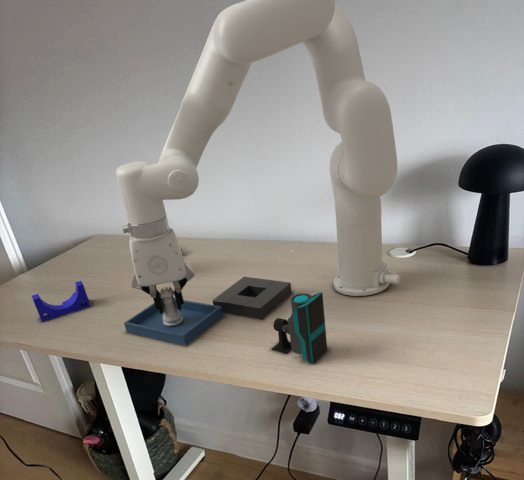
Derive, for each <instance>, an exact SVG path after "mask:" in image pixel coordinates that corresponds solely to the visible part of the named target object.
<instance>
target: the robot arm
mask: <svg viewBox="0 0 524 480" xmlns="http://www.w3.org/2000/svg"><path fill="white" fill-rule="evenodd" d="M300 44H303V45H304V47H305V48H306V49H307V51H308V53H309V56H310V58H311V62H312V64H313V68H314V72H315V76H316V82H317V87H318V92H319V97H320V101H321V108H322V114H323V119H324V121H325V123H326V125H327V127H328V128H329V129H331V130H332V131H333V132H336V133H337V134H339V136H340V139H341V141H340V142H338V144H337V145H336V146H335V147H334V148H333V150H332V153H331V155H330V158H329V176H330V182H331V187H332V192H333V198H334V199H333V201H334V210H335V211H334V212H335V223H336V224H335V225H336V226H335V227H336V241H337V255H338V256H337V257H338V270H339V274H338V275H337V276H336V277H335V278H334V279H333V289H334V290H335V291H336V292H338V293H339V294H342V295H345V296H351V297H365V296H371V295H375V294H379V293H381V292H383V291H384V290H386V289H388V287H389V286H390V284H396V285H399V284H400V282H401V275H400V274H399V273H400V272H399V270H389V269H388V268H387V267H388V265H387V263H386V262H383V237H382V236H383V232H382V228H383V227H382V200H381V196H384V195H386V193H388V192H389V191H390V190H391V188H392V187H393V185H394V183H395V181H396V179H397V176H398V175H397V174H398V155H397V147H396V141H395V132H394V131H395V130H394V125H393V118H392V112H391V107H390V103H389V101H388V99H387V96H386V95H385V93H384V92H383V90H382V88H380V87H379V86H378V85H377V84H375V83H373V82H370V81H367V80H366V77H365V72H364V66H363V62H362V57H361V51H360V48H359V47H360V46H359V43H358V38H357V35H356V32H355V29H354V27H353V25H352V23H351V20H350V19H349V17H348V16H347V15H346V13H345V12H344V11H343V9H342V8H341V7H340V6H339V5H338V4H337V3H336V1H335V0H242V1H240V2H237V3H234V4H232V5H229V6H228V7H226V8H224V9H222V11H221V12H219V14H218V15H217V17H216V18H215V20H214V22H213V25H212V26H211V29H210V31H209V34H208V36H207V39H206V41H205V44H204V47H203V49H202V51H201V54H200V57H199V58H198V62H197V64H196V66H195V68H194V71H193V74H192V77H191V79H190V81H189V83H188V86H187V88H186V91H185V93H184V96H183V97H182V100H181V104H180V108H179V110H178V112H177V114H176V117H175V119H174V122H173V124H172V127H171V128H170V130H169V134H168V136H167V139H166V141H165V144H164V145H163V149H162V151H161V153H160V156H159V159H158V162H157V163H152V162H150V161H148V160H147V161H146V160H138V161H131V162H128V163H124V164H122V165H120V166H118V167H117V168H116V171H115V179H116V183H117V187H118V190H119V193H120V198H121V200H122V205H123V207H124V211H125V214H126V219H127V221H128V223H127V224H126V225H123V226H122V232H123V234H130V238H129V241H128V242H129V250H130V257H131V262H132V267H133V271H134V275H133V277H132V278H133V279H132V282H131V287H132V288H133V289H136V290H140V291H142V292H144V293H145V294H147V295H149V296H150V298H152V299H153V303H155V307H156V309H159V311H160V314H162V313H164V306H163V302H162V297H161V296H160V291H159V290H158V289H157V285H164V284H169V283H172V285H173V287H174V290H173V291H174V295H173V296H174V298H175V299H176V303H177V307H178V310H182V304H184V300H185V299H184V296H183V292H182V290H183V289H184V287H186V285H187V283H188V282H190V280H192V279H193V278H194V277H195V276H196V273H195V271H194V270H193V269H192V267H190V265H188V264H187V262H186V261H185V259H184V254H183V251H182V252H181V250H182V248H181V245H180V243H179V240H178V238H177V235H176V233H175V230H174V229H173V228H171V227H170V225H169V220H168V216H167V211H166V207H165V203H164V201H168V200H169V201H171V200H172V201H173V200H183V199H186V198H188V197H191V196H192V195H193V194H195V192H196V191H197V189H198V186H199V182H200V181H199V179H200V178H199V173H198V170H197V168H198V165H199V163H200V160H201V159H202V156H203V154H204V151H205V149H206V147H207V145H208V143H209V141H210V139H211V137H212V136H213V134H215V133H214V132H215V131H216V130H217V129H218V128H219V127H220V126H221V125H222V124H223V123H224V122H225V121H226V120H227V118H228V117H229V115H230V113H231V111H232V109H233V106H234V104H235V103H236V100H237V98H238V95H239V92H240V90H241V88H242V85H243V83H244V80H245V79H246V77H247V75H248V73H249V70H250V68H251V66H252V63H254V62H257V61H260V60H261V61H262V60H264V59H266V58H268V57H271V56H274V55H277V54H278V53H281V52H283V51H285V50H288V49H291V48H292V47H295V46H298V45H300ZM182 254H183V255H182Z"/></svg>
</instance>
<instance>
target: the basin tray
mask: <svg viewBox="0 0 524 480" xmlns="http://www.w3.org/2000/svg"><path fill="white" fill-rule="evenodd" d="M161 298H162V297H161ZM162 300H163V298H162ZM183 300H184V304H182V310H179V312H180V313H181V314H182V317H183V320H182V322H181V323H180V324H179V325H177V326H172V327H169V326H166V325H165V324H164V323H163V321H164V320H163V315H164V314H163V313H162V314H160V311H159V309H156V307H155V303H154V302H153V303H151V304H150V305H148V306H147V307H145V308H144V309H143V310H141V311H140V312H138V313H136V314H135V315H134V316H132V317H130V318H128V320H126V321H125V322H123V325H124V328H125V332H126V333H127V334H131V335H135V336H139V337H143V338H149V339H153V340H158V341H162V342H165V343H171V344H174V345H180V346H184V347H187V346H189V345H190V344H191V343H192V342H193V341H195V340H196V339H197V338H198V337H200V335H202V334H203V333H204V332H206V331H207V330H208V329H209V328H211V327H212V326H213V325H214V324H216V323H217V322H218V321H220V320H221V319H222V318H223V317H224V313H223V312H222V307H221V306H215V305H213V304H208V303H203V302H197V301H192V300H191V301H190V300H186V299H183ZM174 301H175V304H176V307H177V303H176V299H175V300H174ZM163 306H164V304H163ZM177 309H178V307H177Z"/></svg>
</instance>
